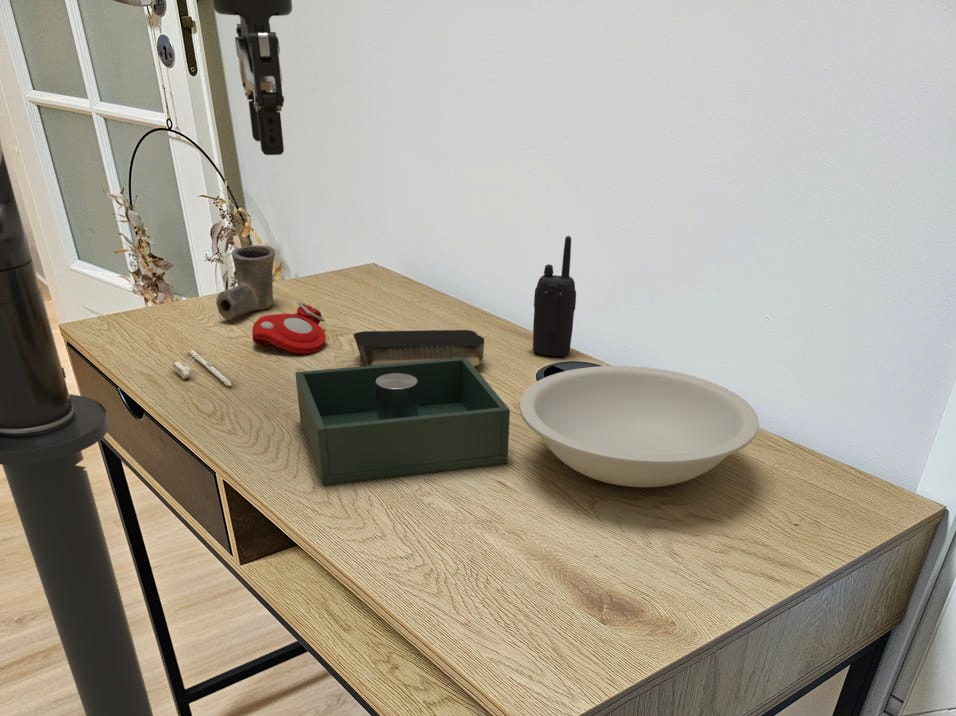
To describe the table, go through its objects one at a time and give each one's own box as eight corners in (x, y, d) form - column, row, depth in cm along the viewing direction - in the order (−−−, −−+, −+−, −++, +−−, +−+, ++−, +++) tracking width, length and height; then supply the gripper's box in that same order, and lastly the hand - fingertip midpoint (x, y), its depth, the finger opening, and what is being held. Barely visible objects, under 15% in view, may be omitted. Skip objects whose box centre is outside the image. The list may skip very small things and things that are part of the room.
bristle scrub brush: (359, 377, 112) (357, 348, 110) (357, 353, 119) (355, 326, 116) (486, 373, 114) (487, 345, 112) (477, 350, 121) (477, 323, 119)
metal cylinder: (383, 444, 94) (380, 390, 91) (374, 428, 98) (371, 374, 94) (423, 440, 95) (422, 386, 92) (413, 424, 99) (411, 371, 95)
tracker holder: (332, 346, 117) (255, 332, 114) (326, 374, 121) (251, 362, 117) (326, 298, 125) (254, 283, 121) (320, 326, 128) (250, 313, 125)
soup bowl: (548, 533, 82) (554, 469, 78) (495, 427, 101) (497, 370, 97) (786, 514, 86) (803, 451, 82) (692, 415, 105) (702, 360, 101)
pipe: (210, 321, 128) (201, 263, 123) (255, 297, 138) (248, 242, 133) (248, 327, 126) (240, 268, 122) (290, 301, 136) (284, 246, 131)
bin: (322, 485, 89) (317, 429, 85) (300, 423, 100) (295, 371, 97) (507, 463, 94) (510, 409, 90) (465, 406, 105) (466, 356, 102)
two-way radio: (573, 351, 121) (583, 234, 112) (567, 362, 118) (577, 242, 109) (533, 347, 122) (540, 230, 113) (527, 358, 119) (533, 239, 110)
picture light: (233, 387, 108) (231, 370, 107) (199, 394, 106) (196, 377, 105) (193, 353, 117) (190, 337, 116) (161, 359, 115) (157, 342, 114)
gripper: (201, -48, 88) (226, 137, 98) (211, -49, 77) (237, 160, 87) (278, -46, 90) (294, 136, 100) (297, -46, 79) (314, 158, 89)
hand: (268, 147), depth 93 cm, fingers open, 8 cm apart
